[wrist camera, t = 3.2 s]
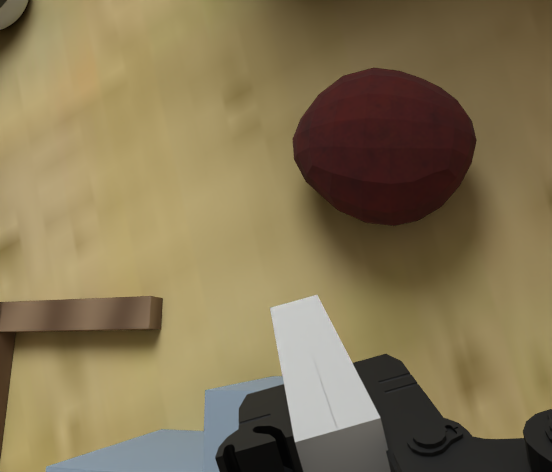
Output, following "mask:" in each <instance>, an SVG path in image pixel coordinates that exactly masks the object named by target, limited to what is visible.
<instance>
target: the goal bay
mask: <svg viewBox="0 0 552 472" xmlns="http://www.w3.org/2000/svg"><path fill="white" fill-rule="evenodd" d="M161 318H162V298H158V297H153V296H140V297H116V298H91V299H67V300H43V301H19V302H0V457H1V449H2V440H3V432H4V424H5V416H6V408H7V399H8V391H9V383H10V375H11V367H12V358H13V350H14V342H15V334H16V332H49V331H100V330H152V329H161Z"/></svg>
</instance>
